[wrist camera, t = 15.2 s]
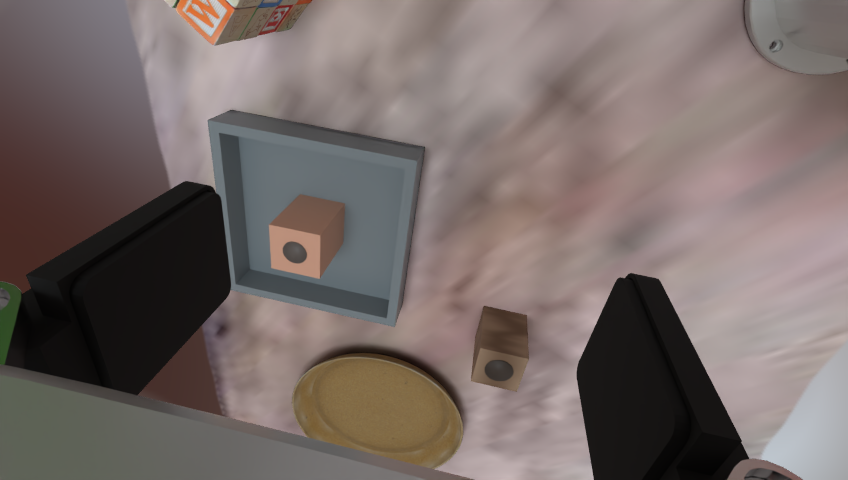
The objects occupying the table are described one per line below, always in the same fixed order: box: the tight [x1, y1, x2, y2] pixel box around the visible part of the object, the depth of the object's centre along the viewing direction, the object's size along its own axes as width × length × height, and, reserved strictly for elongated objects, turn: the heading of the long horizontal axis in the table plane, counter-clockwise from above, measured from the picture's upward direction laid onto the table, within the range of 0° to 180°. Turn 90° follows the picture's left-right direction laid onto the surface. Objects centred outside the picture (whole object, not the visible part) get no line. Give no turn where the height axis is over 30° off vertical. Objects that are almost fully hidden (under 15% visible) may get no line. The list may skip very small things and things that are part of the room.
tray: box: [208, 110, 425, 327], centre depth 46 cm, size 20×20×4 cm
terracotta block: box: [269, 194, 345, 279], centre depth 44 cm, size 5×5×7 cm
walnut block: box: [471, 306, 529, 392], centre depth 49 cm, size 5×5×7 cm
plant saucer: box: [292, 353, 463, 469], centre depth 61 cm, size 24×24×3 cm
